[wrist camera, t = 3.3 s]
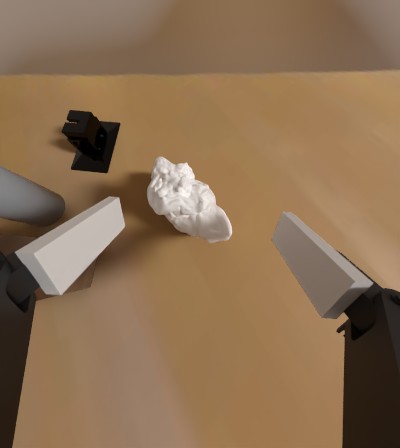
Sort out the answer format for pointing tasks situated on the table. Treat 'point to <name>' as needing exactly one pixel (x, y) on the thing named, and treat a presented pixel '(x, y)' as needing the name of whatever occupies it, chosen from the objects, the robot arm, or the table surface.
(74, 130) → the notched block on base
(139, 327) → the table surface
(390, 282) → the table surface
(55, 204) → the grey rounded cylinder
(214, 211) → the bust
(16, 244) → the walnut block
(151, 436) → the table surface
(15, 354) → the robot arm
